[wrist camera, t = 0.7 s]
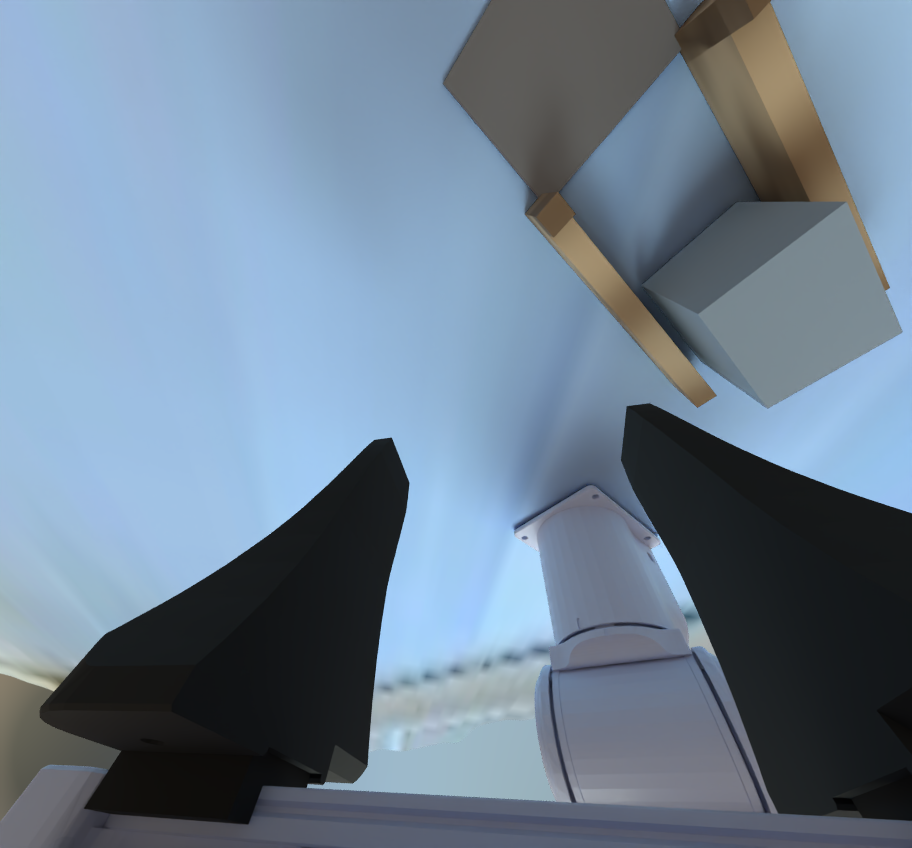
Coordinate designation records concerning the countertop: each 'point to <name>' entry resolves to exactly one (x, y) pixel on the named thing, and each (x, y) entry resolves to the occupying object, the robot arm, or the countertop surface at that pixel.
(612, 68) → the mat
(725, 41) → the chute
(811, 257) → the block
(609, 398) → the countertop surface
